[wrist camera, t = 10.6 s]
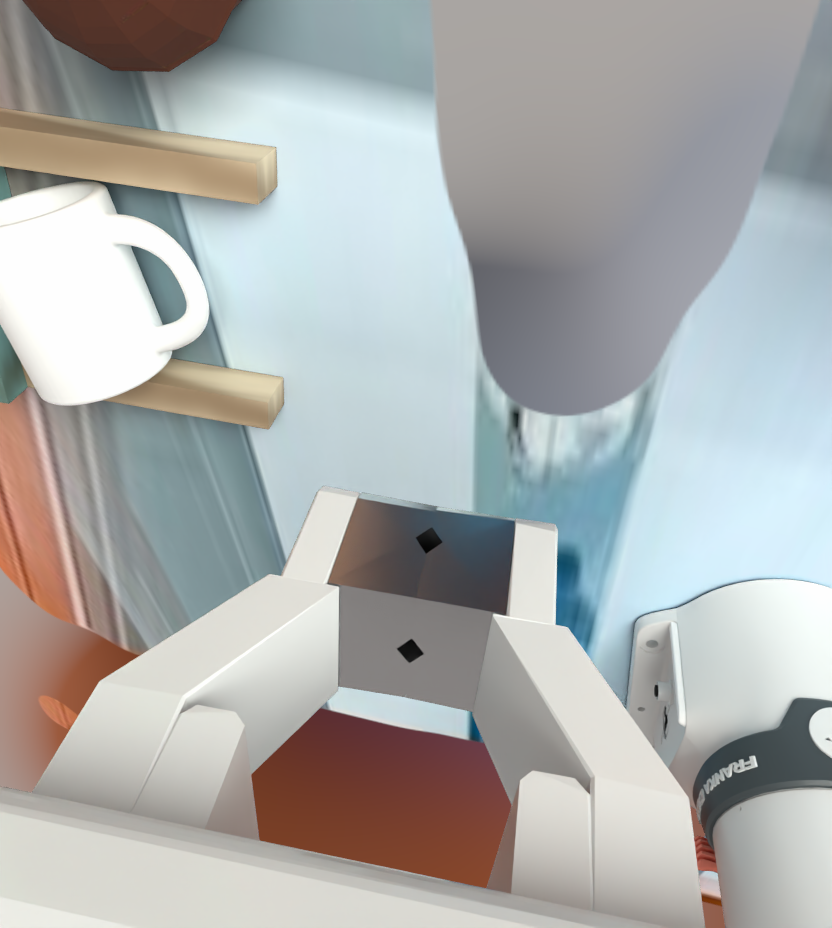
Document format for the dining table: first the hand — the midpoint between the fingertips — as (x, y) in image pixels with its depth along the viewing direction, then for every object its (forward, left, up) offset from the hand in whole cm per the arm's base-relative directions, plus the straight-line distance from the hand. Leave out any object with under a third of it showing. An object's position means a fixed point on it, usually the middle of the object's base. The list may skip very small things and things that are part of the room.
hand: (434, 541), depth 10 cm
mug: (-13, +22, -32) cm, 41 cm away
